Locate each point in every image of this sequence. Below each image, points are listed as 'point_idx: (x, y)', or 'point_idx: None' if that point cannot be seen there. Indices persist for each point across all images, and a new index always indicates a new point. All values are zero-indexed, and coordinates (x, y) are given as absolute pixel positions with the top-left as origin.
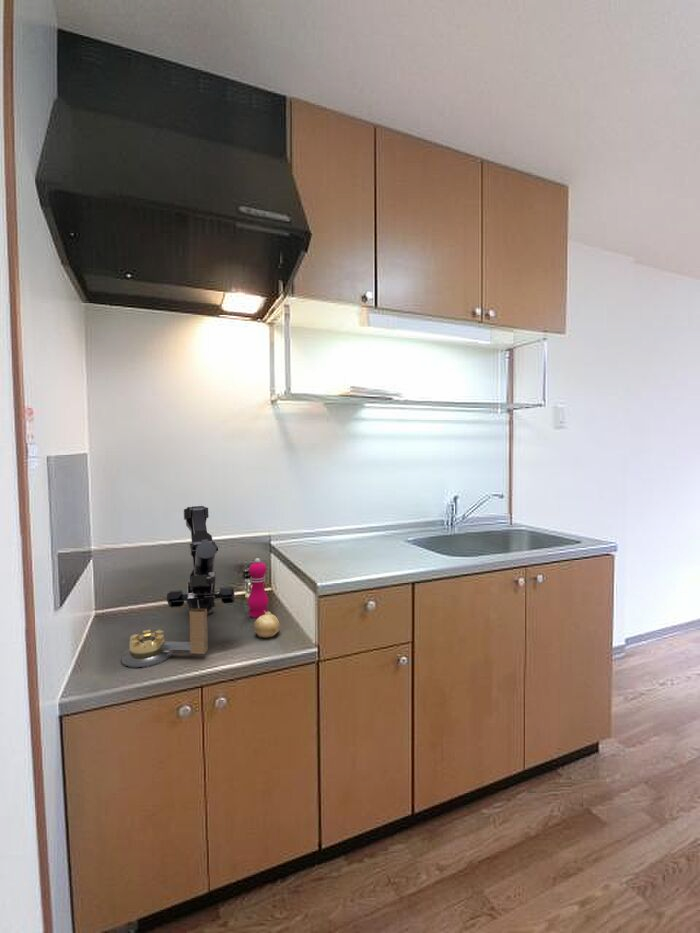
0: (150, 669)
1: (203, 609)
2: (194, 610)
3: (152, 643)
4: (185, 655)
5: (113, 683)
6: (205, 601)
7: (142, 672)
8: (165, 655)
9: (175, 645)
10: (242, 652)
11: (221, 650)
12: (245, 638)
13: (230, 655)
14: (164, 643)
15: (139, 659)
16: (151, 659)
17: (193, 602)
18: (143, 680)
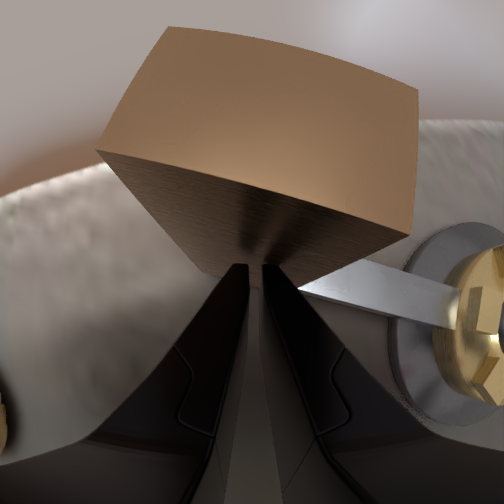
0: (433, 207)
1: (162, 107)
2: (345, 100)
3: (496, 275)
4: (322, 305)
5: (491, 154)
6: (120, 484)
7: (450, 193)
8: (413, 268)
9: (391, 268)
10: (53, 270)
11: (141, 319)
12: (48, 409)
13: (100, 253)
14: (449, 301)
15: None
16: (454, 239)
17: (445, 467)
18: (425, 138)
